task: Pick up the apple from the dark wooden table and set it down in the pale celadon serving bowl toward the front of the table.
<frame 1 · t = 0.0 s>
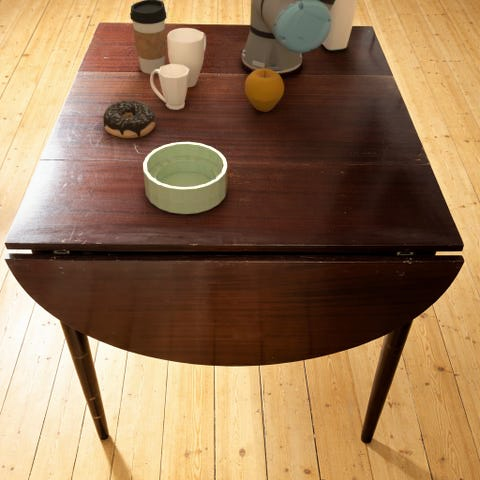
cup 2: (333, 47, 163), on the table
apple: (262, 109, 139), on the table
donut: (130, 127, 132), on the table
cup: (170, 103, 140), on the table
serving bowl: (186, 191, 117), on the table
coffee cup: (152, 69, 151), on the table
mug: (191, 81, 148), on the table
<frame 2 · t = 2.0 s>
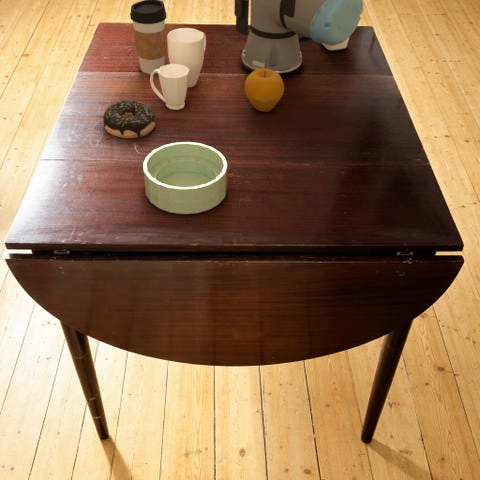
hand: (265, 24, 125), 19 cm above the table, tool pointing down, fingers open, 13 cm apart
nothing on the table moved.
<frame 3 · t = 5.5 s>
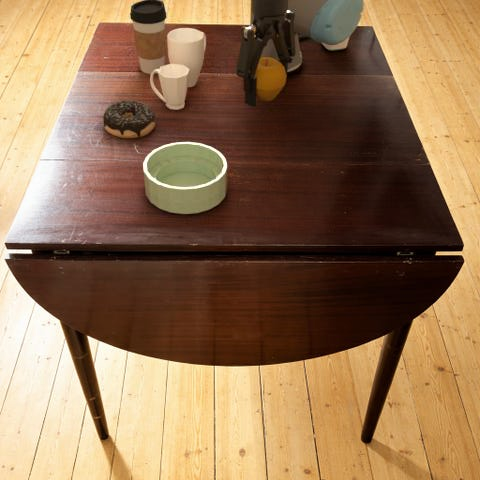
hand: (265, 96, 138), 3 cm above the table, tool pointing down, fingers closed on apple, 9 cm apart
apple: (265, 98, 138), point 2 cm above the table, touching gripper
everything else where it was.
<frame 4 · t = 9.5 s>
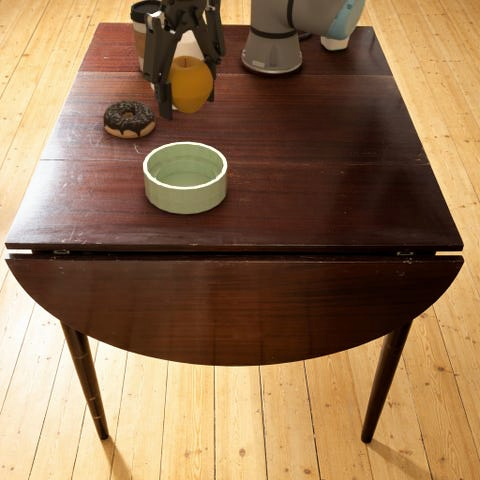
hand: (187, 108, 106), 16 cm above the table, tool pointing down, fingers closed on apple, 9 cm apart
apple: (187, 110, 106), point 16 cm above the table, touching gripper
everything else where it was.
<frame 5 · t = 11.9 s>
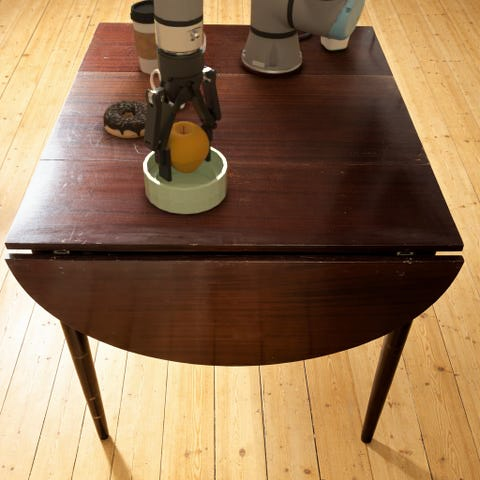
hand: (185, 168, 113), 5 cm above the table, tool pointing down, fingers closed on apple, 9 cm apart
apple: (185, 169, 113), point 5 cm above the table, touching gripper
everything else where it was.
when the fingers open (3 cm above the table, at t = 14.1 s): apple stays where it is, resting on serving bowl.
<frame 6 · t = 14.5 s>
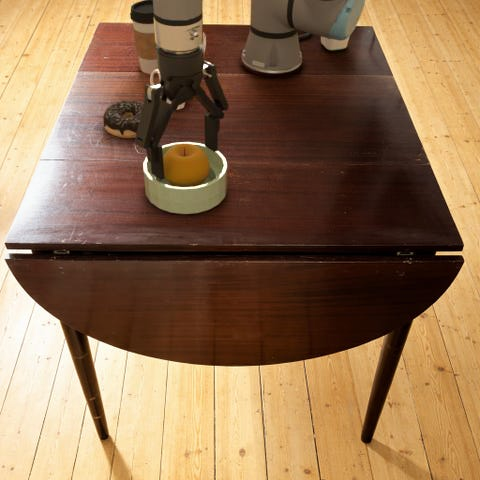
hand: (185, 162, 112), 6 cm above the table, tool pointing down, fingers open, 12 cm apart
apple: (186, 189, 117), resting on serving bowl
everything else where it was.
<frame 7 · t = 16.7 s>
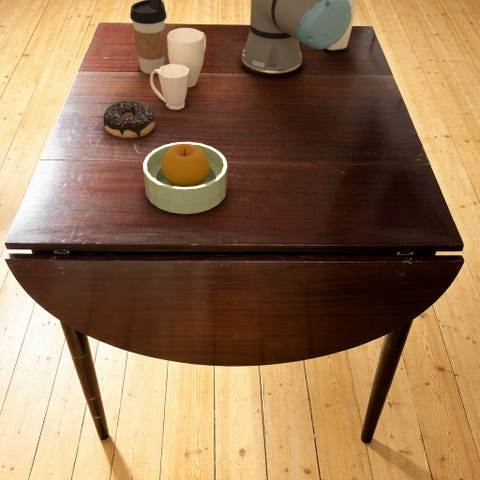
nothing on the table moved.
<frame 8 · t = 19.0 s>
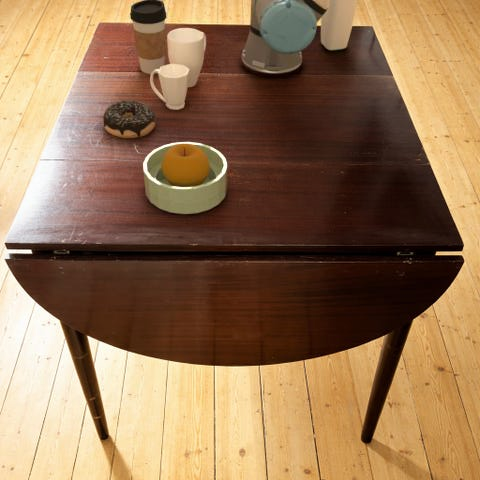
nothing on the table moved.
at the end: apple inside the target area in the serving bowl (0.1 cm from its centre), point 0.4 cm above the serving bowl's base; the gripper is holding nothing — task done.
